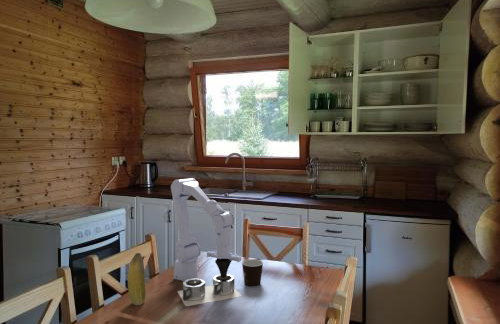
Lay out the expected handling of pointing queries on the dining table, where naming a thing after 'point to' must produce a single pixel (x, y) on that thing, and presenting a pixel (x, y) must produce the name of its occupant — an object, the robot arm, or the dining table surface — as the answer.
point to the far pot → (223, 286)
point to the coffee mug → (252, 272)
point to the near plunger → (194, 283)
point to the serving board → (209, 296)
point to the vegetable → (136, 280)
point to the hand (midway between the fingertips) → (223, 276)
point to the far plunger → (223, 278)
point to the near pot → (193, 290)
